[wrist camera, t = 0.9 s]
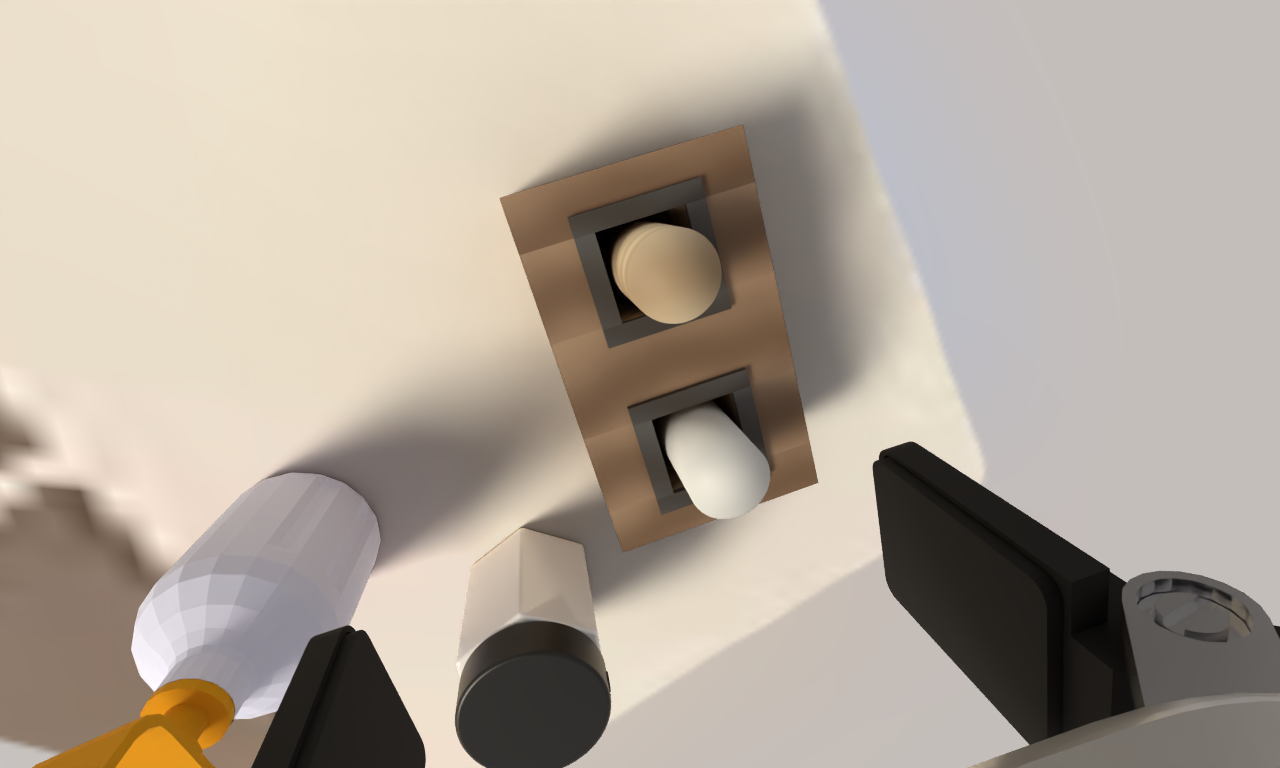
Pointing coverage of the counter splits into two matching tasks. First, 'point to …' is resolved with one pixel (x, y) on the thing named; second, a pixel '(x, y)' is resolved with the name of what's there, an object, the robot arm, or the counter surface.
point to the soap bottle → (239, 618)
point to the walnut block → (663, 326)
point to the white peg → (714, 460)
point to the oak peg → (664, 270)
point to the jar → (530, 657)
